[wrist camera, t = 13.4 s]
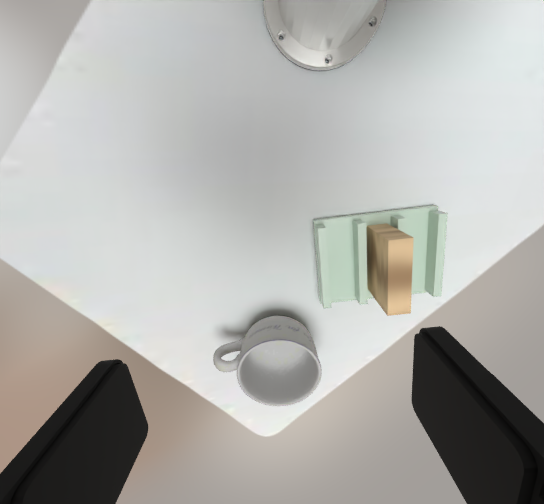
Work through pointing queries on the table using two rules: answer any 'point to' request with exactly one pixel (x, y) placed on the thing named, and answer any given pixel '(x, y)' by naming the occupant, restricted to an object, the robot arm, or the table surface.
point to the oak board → (390, 268)
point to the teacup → (274, 361)
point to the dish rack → (353, 251)
